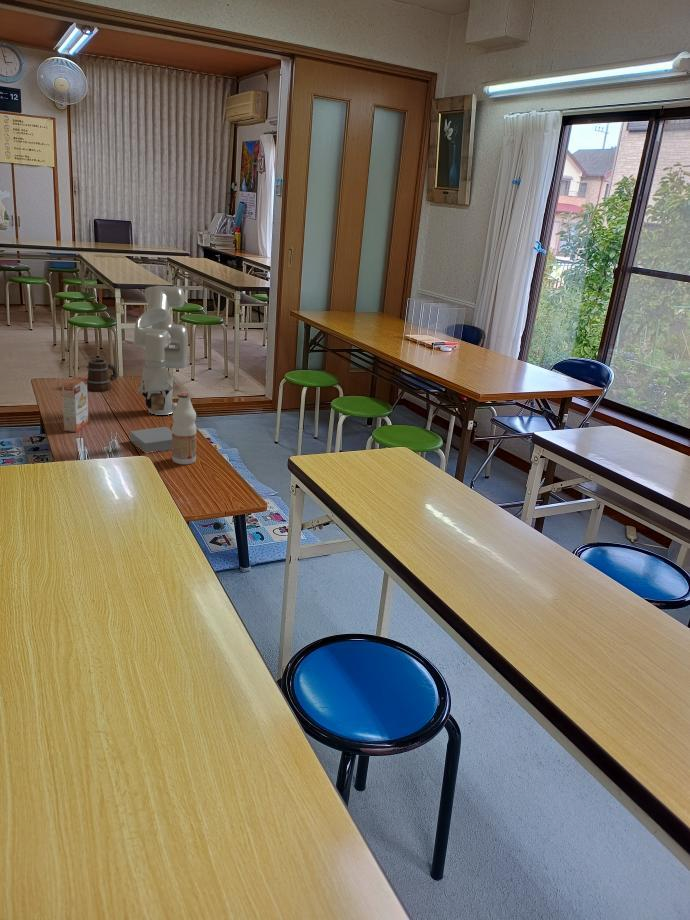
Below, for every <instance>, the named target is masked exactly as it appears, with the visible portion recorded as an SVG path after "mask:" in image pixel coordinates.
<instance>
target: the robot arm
mask: <svg viewBox="0 0 690 920" xmlns="http://www.w3.org/2000/svg"><path fill="white" fill-rule="evenodd" d="M144 298H145V301H146V303H147V310H145V312H143V313H141V314H140V315H139V316H138V318H137V319H136V321H135V323H134V333H133V341H134V343H135V345H136V346H138V347H140V348H141V347H142V348H144V358H145V359H144V362H145V364H144V366H143V367H142V371H141V372H142V373H141V380H140V381H141V382H140V383H141V384H140V386H139V387H138V389H137V392H138V393H139V394H141V395H142V396H143V397H144V398H145V406H146V407H148V408H147V409H148V413H149V414H150V413H151V414H150V415H152V414H155V415H154V416H156V415H168V416H170V415H169V414H172V413H173V411H174V410H175V408H176V406H177V403H178V402H173V389H174V388H173V375H172V374H171V372H170V371H169V370H168V369H185V368H186V367H187V366H188V361H189V360H188V359H189V355H188V354H189V352H188V351H189V349H188V348H189V347H188V346H189V345H188V341H189V340H188V339H189V338H188V337H189V336H188V330H187V328H186V326H184V325H182V324H175V323H174V324H172V318H171V317H172V314H171V311H170V309H169V308H182V307H183V308H184V305H185V301H186V293H185V291H184V289H183V288H182V287H180V286H172V285H171V286H169V285H155V286H149V287H146V288H145V289H144ZM148 327H149V328H148ZM150 327H151V328H150ZM169 346H176V347H169ZM144 391H145V392H144ZM151 393H160V394H162V395H163V396H164V410H158V411H151V410H150V409H149V408H151V399H150V395H151Z"/></svg>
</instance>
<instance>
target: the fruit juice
mask: <svg viewBox="0 0 690 920" xmlns="http://www.w3.org/2000/svg"><path fill="white" fill-rule="evenodd" d="M191 397H192V394H191V393H190V392H188V391H182V392H178V394H177V399H178V400H177V402H176V403H177V406H176V408H175V410H174V411H173V415H172V421H173V423H172V428H171V431H172V450H171V451H172V453H171V459H172V462H173V463H175V464H178V465H190V464H194V463H195V462H196V460H197V425H196V419H197V412H196V410H195V409H194V407H193V404H192V401H191Z"/></svg>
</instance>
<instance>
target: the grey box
mask: <svg viewBox="0 0 690 920" xmlns="http://www.w3.org/2000/svg"><path fill="white" fill-rule="evenodd" d="M129 437H130V438H129V439H130V441H131V442H130V443H132V442H133V443H134V444H136V445H137V446H139V447H140V448H141V449H143V450H144V451H145V452H150V451H161V452H167V451H166V450H168V451H172V429H170V428H169V427H167V426H160V427H153V428H147V429H146V428H145V429H139V430H130V431H129ZM133 443H132V444H133ZM134 444H133V445H134Z"/></svg>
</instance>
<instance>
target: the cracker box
mask: <svg viewBox="0 0 690 920" xmlns="http://www.w3.org/2000/svg"><path fill="white" fill-rule="evenodd" d="M87 378H88V377H77V376H74V377H72V378H71V379H69V380H68V381H67V380H66V381H65V382H64V383H62V384H61V393H62V394H61V395H62V396H61V397H62V398H61V399H62V417H63V420H62V421H63V432H72V433H77V432H79V431H80V430H81V429H82V428H84V427H85V426H86V425H87V424H88V423H89V406H88V405H89V401H88V400H89V399H88V390H87Z"/></svg>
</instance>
